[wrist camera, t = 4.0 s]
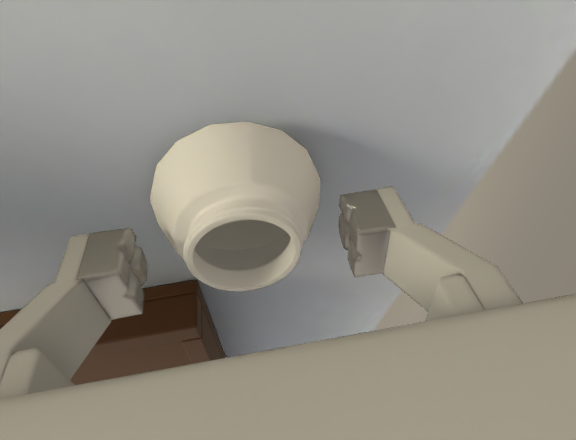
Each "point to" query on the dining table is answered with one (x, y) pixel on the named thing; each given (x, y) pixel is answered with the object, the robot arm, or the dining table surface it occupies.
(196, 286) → the serving tray
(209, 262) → the lidless jar
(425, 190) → the dining table surface
